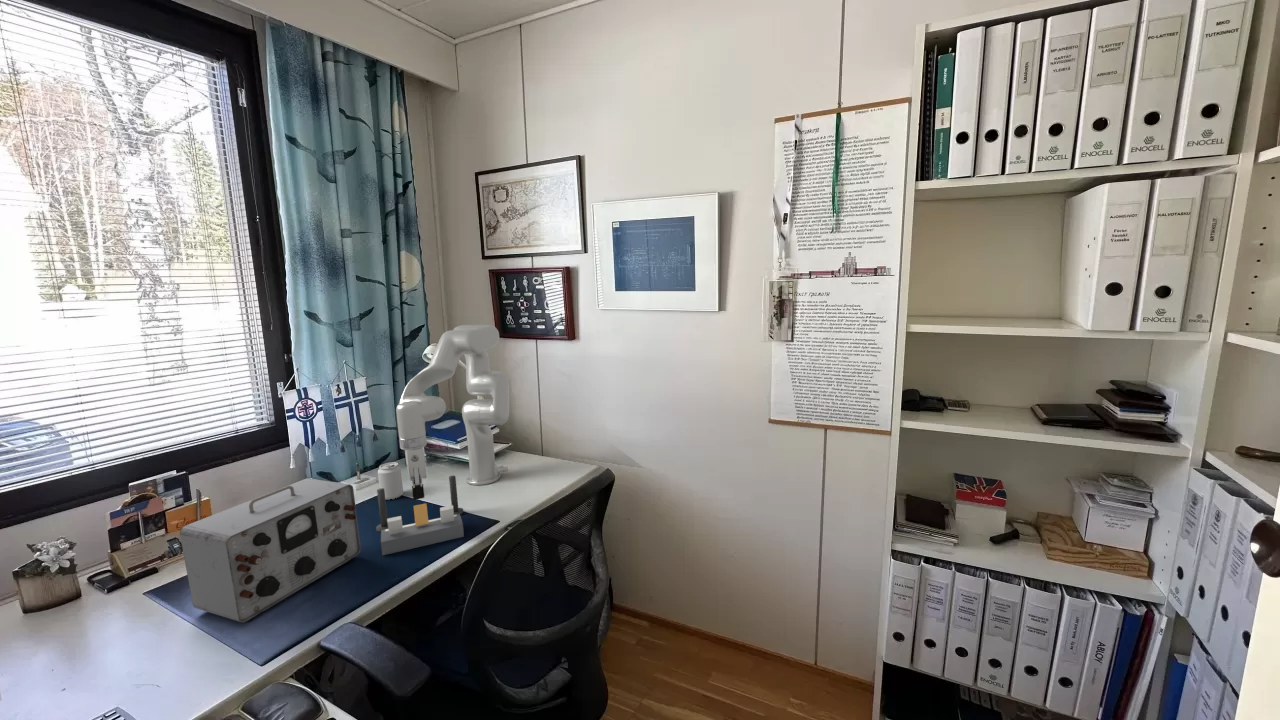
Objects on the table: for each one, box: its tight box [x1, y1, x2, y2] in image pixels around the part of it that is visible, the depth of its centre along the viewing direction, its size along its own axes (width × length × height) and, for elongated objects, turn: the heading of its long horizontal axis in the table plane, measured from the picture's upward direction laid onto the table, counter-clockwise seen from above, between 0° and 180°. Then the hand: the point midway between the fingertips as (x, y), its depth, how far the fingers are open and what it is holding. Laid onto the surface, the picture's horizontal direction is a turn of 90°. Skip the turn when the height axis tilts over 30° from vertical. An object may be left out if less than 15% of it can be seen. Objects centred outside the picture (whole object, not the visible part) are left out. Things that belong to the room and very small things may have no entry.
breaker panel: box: [380, 514, 465, 556], centre depth 151 cm, size 22×8×4 cm, turn 116°
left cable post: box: [375, 488, 388, 533], centre depth 158 cm, size 5×5×13 cm
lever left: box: [387, 515, 403, 535], centre depth 146 cm, size 4×1×6 cm, turn 116°
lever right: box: [439, 504, 454, 523], centre depth 152 cm, size 4×1×6 cm, turn 116°
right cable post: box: [448, 475, 464, 515], centre depth 167 cm, size 5×5×13 cm
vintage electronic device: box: [179, 477, 362, 623], centre depth 129 cm, size 32×18×25 cm, turn 160°
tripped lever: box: [413, 502, 429, 527], centre depth 152 cm, size 4×1×6 cm, turn 116°
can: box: [377, 461, 404, 501], centre depth 183 cm, size 8×8×12 cm
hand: (418, 497), depth 159 cm, fingers closed
